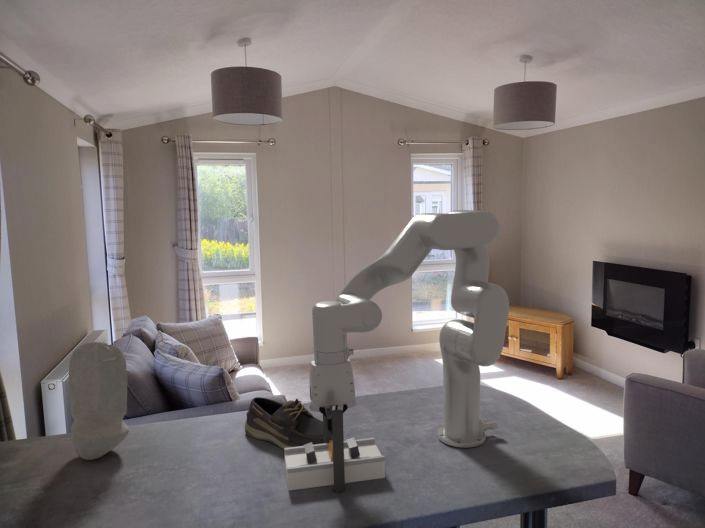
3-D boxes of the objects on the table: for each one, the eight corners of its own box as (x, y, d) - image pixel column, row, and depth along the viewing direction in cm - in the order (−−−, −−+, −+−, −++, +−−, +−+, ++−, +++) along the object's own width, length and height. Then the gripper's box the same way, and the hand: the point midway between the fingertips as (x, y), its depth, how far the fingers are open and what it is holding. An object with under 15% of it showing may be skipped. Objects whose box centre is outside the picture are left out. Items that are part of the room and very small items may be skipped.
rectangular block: (336, 450, 121) (338, 440, 121) (339, 459, 117) (341, 449, 116) (328, 450, 121) (329, 440, 120) (331, 459, 116) (333, 448, 116)
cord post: (343, 486, 113) (341, 408, 111) (345, 492, 111) (343, 413, 109) (333, 488, 113) (330, 410, 111) (335, 493, 110) (332, 414, 108)
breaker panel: (374, 456, 126) (373, 437, 126) (384, 477, 116) (384, 457, 116) (285, 467, 122) (284, 448, 121) (288, 490, 112) (287, 469, 111)
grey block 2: (356, 446, 122) (353, 437, 121) (360, 455, 118) (357, 445, 117) (348, 449, 122) (345, 439, 121) (351, 458, 117) (349, 448, 117)
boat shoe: (326, 462, 125) (325, 420, 123) (232, 439, 138) (230, 401, 137) (347, 443, 134) (346, 404, 133) (257, 423, 148) (256, 387, 146)
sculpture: (62, 471, 123) (51, 350, 119) (77, 448, 134) (67, 337, 131) (129, 463, 126) (120, 345, 122) (138, 441, 137) (130, 333, 134)
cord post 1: (332, 454, 128) (330, 385, 126) (334, 459, 125) (332, 388, 123) (323, 455, 127) (321, 386, 125) (324, 460, 125) (322, 389, 123)
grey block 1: (314, 451, 120) (312, 442, 120) (317, 460, 116) (314, 450, 115) (306, 454, 120) (303, 444, 119) (308, 463, 115) (305, 453, 115)
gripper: (359, 348, 121) (362, 421, 123) (296, 354, 118) (300, 429, 120) (366, 357, 114) (369, 435, 116) (299, 364, 111) (303, 444, 113)
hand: (334, 432), depth 118 cm, fingers closed
